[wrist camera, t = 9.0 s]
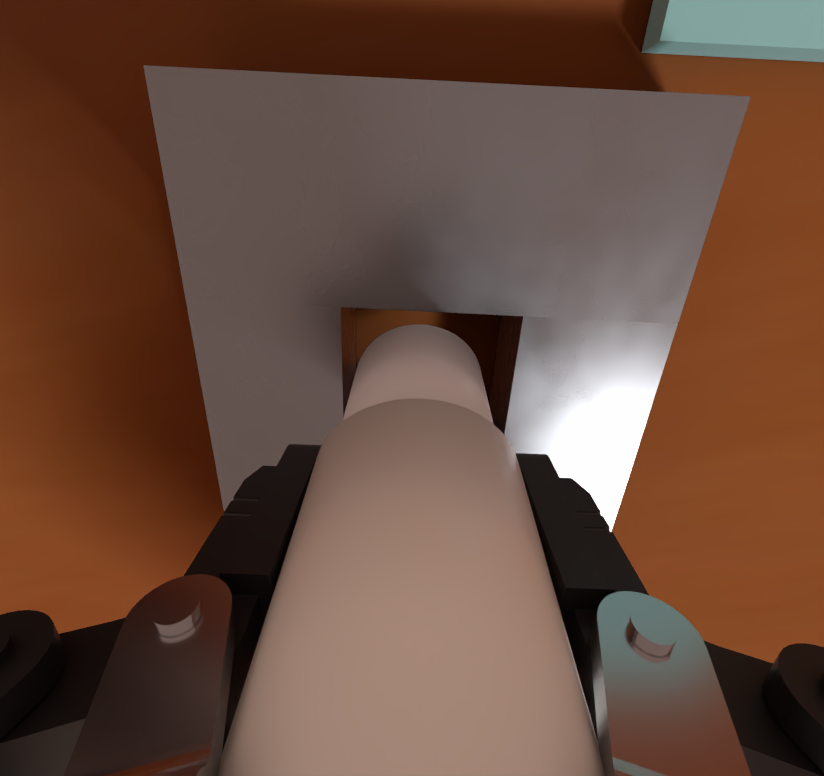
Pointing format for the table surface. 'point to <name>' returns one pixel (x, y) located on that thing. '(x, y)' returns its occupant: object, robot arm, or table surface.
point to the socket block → (436, 246)
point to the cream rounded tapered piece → (414, 596)
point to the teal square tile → (737, 29)
